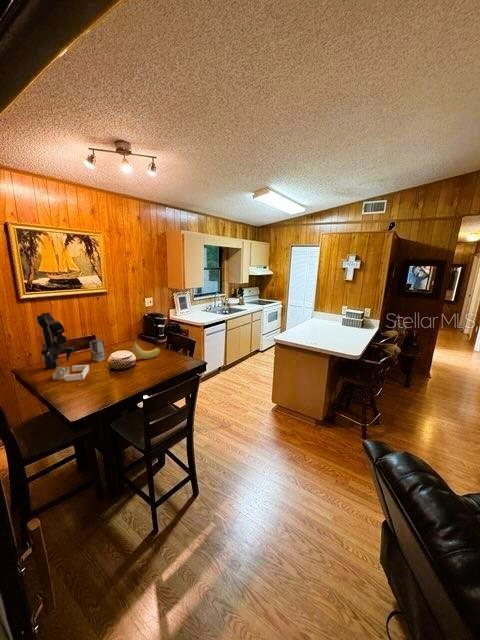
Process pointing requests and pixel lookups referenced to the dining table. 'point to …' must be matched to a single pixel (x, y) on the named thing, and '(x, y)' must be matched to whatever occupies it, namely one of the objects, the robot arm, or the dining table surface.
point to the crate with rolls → (60, 373)
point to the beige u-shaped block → (78, 376)
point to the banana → (144, 354)
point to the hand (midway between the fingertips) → (59, 362)
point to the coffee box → (97, 350)
